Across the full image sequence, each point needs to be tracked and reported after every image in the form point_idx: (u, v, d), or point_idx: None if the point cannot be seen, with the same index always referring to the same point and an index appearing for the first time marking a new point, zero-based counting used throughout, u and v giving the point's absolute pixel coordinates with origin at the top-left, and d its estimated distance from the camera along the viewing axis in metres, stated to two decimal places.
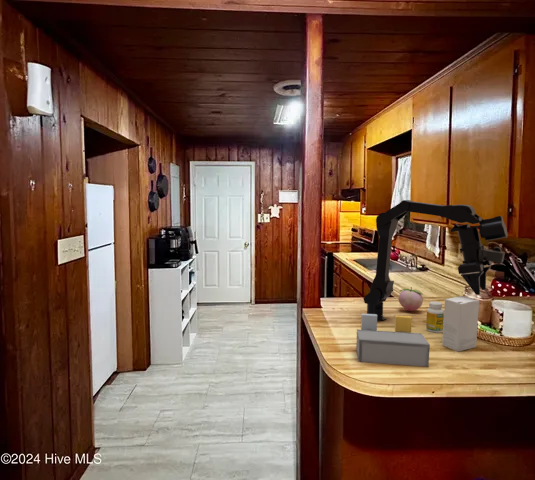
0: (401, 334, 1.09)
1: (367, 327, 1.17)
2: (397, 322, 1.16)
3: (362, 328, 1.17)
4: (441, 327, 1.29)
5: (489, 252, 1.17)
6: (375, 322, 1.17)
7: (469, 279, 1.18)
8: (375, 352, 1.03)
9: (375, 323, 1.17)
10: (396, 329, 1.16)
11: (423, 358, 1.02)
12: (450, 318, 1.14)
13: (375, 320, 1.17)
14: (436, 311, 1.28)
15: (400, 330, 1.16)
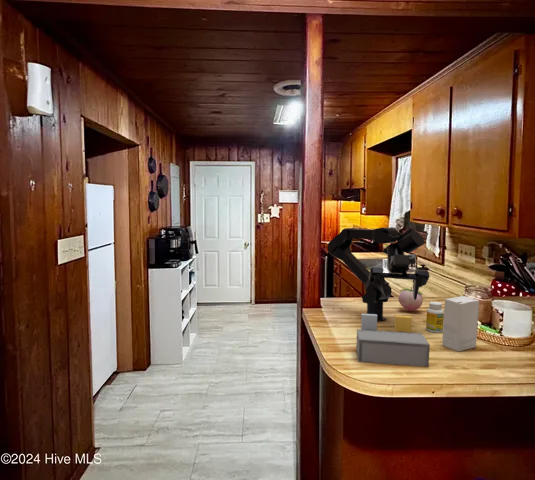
0: (401, 334, 1.09)
1: (367, 327, 1.17)
2: (397, 322, 1.16)
3: (362, 328, 1.17)
4: (441, 327, 1.29)
5: (392, 258, 1.28)
6: (375, 322, 1.17)
7: (379, 285, 1.29)
8: (375, 352, 1.03)
9: (375, 323, 1.17)
10: (396, 329, 1.16)
11: (423, 358, 1.02)
12: (450, 318, 1.14)
13: (375, 320, 1.17)
14: (436, 311, 1.28)
15: (400, 330, 1.16)
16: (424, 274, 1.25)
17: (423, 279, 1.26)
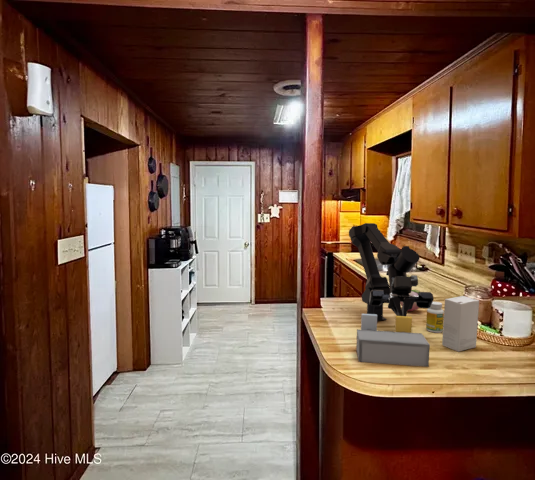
0: (401, 334, 1.09)
1: (367, 327, 1.17)
2: (397, 322, 1.15)
3: (362, 328, 1.17)
4: (441, 327, 1.29)
5: (393, 280, 1.21)
6: (375, 322, 1.17)
7: (395, 310, 1.21)
8: (375, 352, 1.03)
9: (375, 323, 1.17)
10: (396, 329, 1.16)
11: (423, 358, 1.02)
12: (450, 318, 1.14)
13: (375, 320, 1.17)
14: (436, 311, 1.28)
15: (400, 330, 1.15)
16: (428, 296, 1.18)
17: (412, 301, 1.19)
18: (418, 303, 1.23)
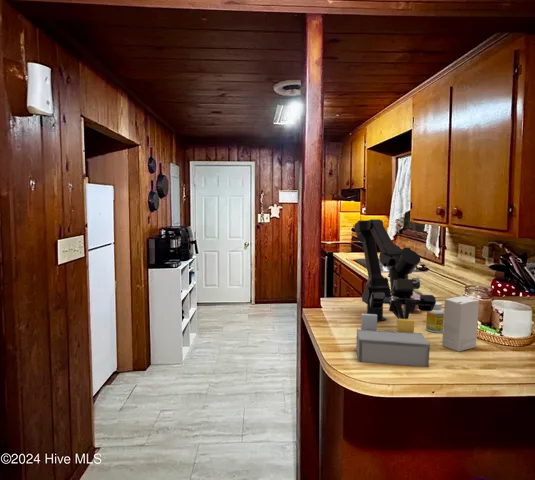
0: (401, 334, 1.09)
1: (367, 327, 1.17)
2: (399, 325, 1.12)
3: (362, 328, 1.17)
4: (441, 327, 1.29)
5: (395, 282, 1.18)
6: (375, 322, 1.17)
7: (396, 313, 1.18)
8: (375, 352, 1.03)
9: (375, 323, 1.17)
10: None
11: (423, 358, 1.02)
12: (450, 318, 1.14)
13: (375, 320, 1.17)
14: (436, 311, 1.28)
15: None
16: (430, 299, 1.15)
17: (414, 304, 1.16)
18: (420, 306, 1.20)
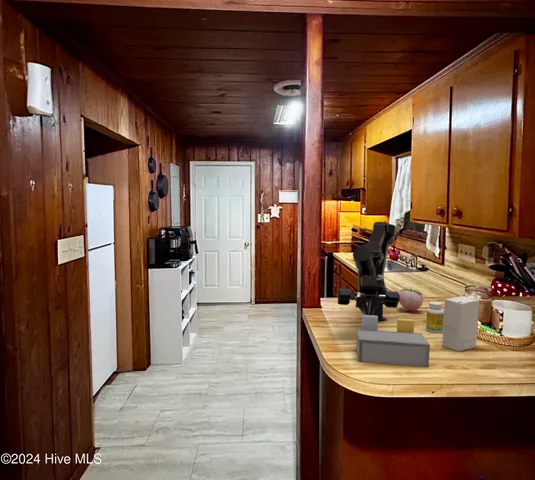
0: (401, 334, 1.09)
1: (368, 329, 1.16)
2: (399, 325, 1.12)
3: None
4: (441, 327, 1.29)
5: None
6: (376, 323, 1.15)
7: (362, 309, 1.21)
8: (375, 352, 1.03)
9: (376, 324, 1.15)
10: None
11: (423, 358, 1.02)
12: (450, 318, 1.14)
13: (376, 321, 1.15)
14: (436, 311, 1.28)
15: None
16: (394, 296, 1.19)
17: (378, 300, 1.19)
18: (386, 302, 1.24)
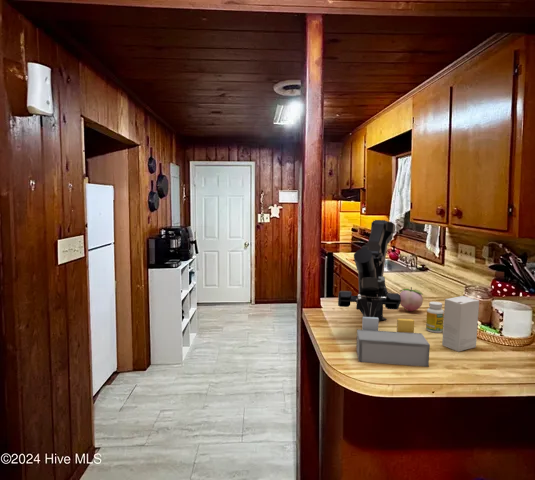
0: (401, 334, 1.09)
1: None
2: (399, 325, 1.12)
3: None
4: (441, 327, 1.29)
5: None
6: (376, 325, 1.13)
7: (363, 311, 1.20)
8: (375, 352, 1.03)
9: (376, 326, 1.13)
10: None
11: (423, 358, 1.02)
12: (450, 318, 1.14)
13: (376, 323, 1.13)
14: (436, 311, 1.28)
15: None
16: (395, 298, 1.17)
17: (379, 302, 1.18)
18: (387, 304, 1.22)
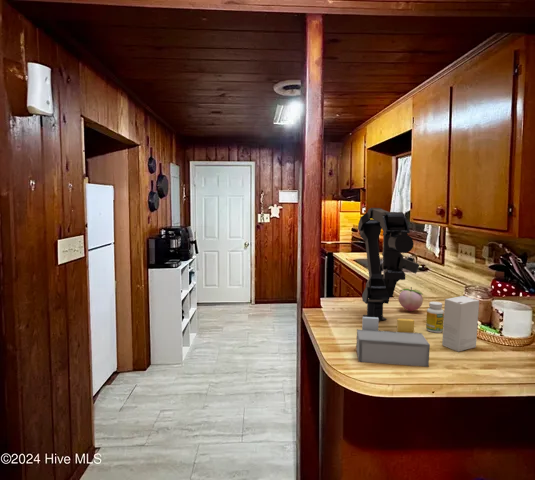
0: (401, 334, 1.09)
1: None
2: (399, 325, 1.12)
3: None
4: (441, 327, 1.29)
5: (409, 262, 1.24)
6: (376, 325, 1.13)
7: (388, 282, 1.26)
8: (375, 352, 1.03)
9: (376, 326, 1.13)
10: None
11: (423, 358, 1.02)
12: (450, 318, 1.14)
13: (376, 323, 1.13)
14: (436, 311, 1.28)
15: None
16: None
17: None
18: (381, 268, 1.34)
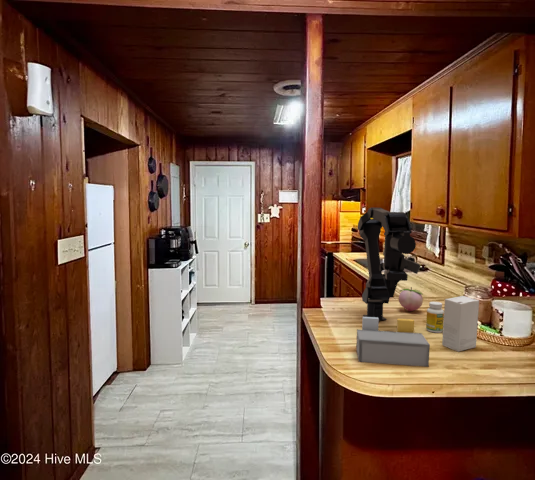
0: (401, 334, 1.09)
1: None
2: (399, 325, 1.12)
3: None
4: (441, 327, 1.29)
5: (410, 262, 1.24)
6: (376, 325, 1.13)
7: (389, 282, 1.26)
8: (375, 352, 1.03)
9: (376, 326, 1.13)
10: None
11: (423, 358, 1.02)
12: (450, 318, 1.14)
13: (376, 323, 1.13)
14: (436, 311, 1.28)
15: None
16: None
17: None
18: (382, 267, 1.34)
